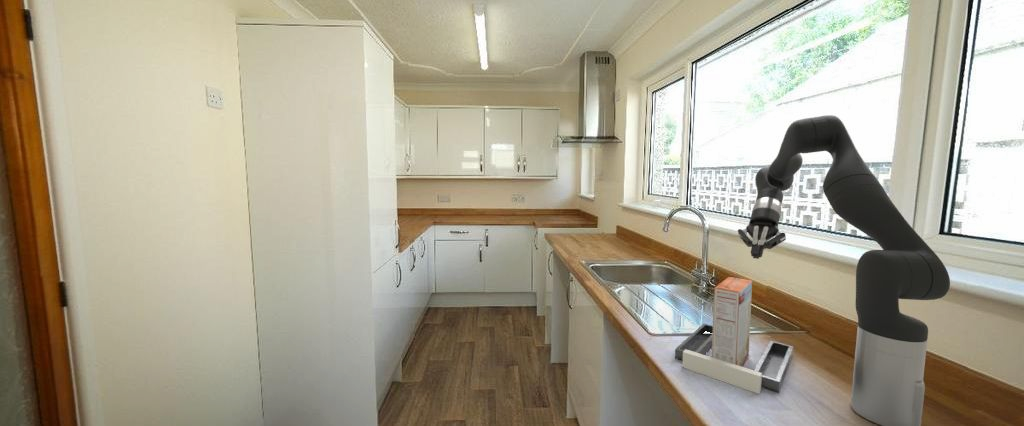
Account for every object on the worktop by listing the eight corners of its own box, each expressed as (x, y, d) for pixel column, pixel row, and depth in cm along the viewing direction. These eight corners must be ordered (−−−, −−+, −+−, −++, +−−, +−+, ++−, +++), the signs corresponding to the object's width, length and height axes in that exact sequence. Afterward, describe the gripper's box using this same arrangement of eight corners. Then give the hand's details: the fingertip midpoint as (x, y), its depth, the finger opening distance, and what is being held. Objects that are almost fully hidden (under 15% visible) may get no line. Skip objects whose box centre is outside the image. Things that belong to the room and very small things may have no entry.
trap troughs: (792, 355, 95) (793, 346, 94) (778, 393, 77) (779, 382, 77) (703, 331, 110) (703, 323, 110) (674, 358, 93) (675, 349, 92)
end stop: (760, 390, 78) (762, 373, 78) (759, 394, 77) (760, 376, 77) (685, 364, 90) (685, 349, 89) (682, 367, 88) (682, 351, 88)
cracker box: (723, 349, 98) (727, 275, 96) (749, 357, 94) (754, 280, 92) (708, 368, 88) (713, 286, 86) (736, 377, 84) (741, 291, 82)
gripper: (740, 205, 117) (728, 246, 109) (791, 207, 108) (782, 252, 100) (743, 220, 121) (732, 260, 113) (792, 223, 112) (783, 267, 104)
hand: (755, 256), depth 107 cm, fingers closed
